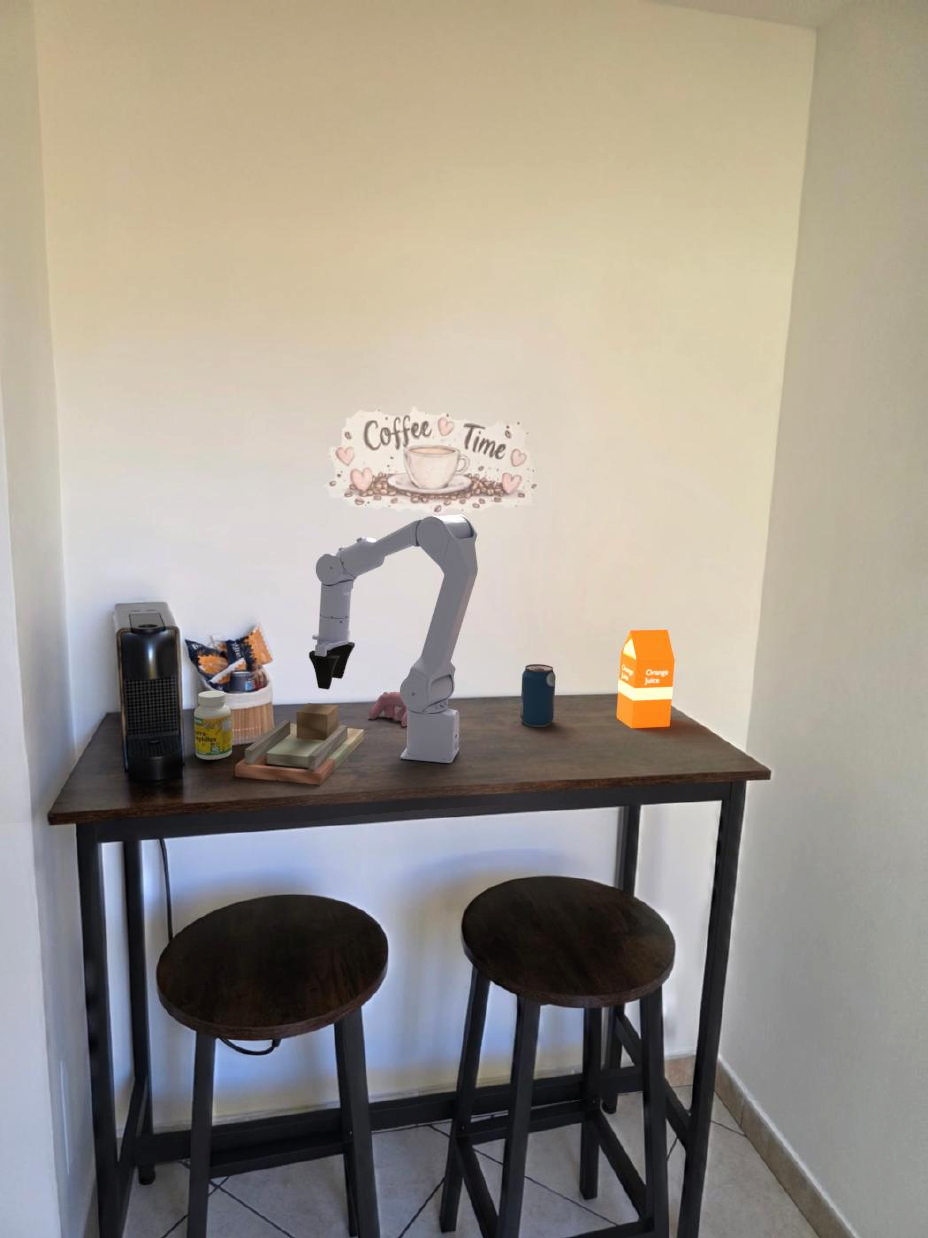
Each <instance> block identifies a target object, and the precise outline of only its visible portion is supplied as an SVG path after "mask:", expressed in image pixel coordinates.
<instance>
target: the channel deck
mask: <svg viewBox="0 0 928 1238" xmlns="http://www.w3.org/2000/svg"><path fill="white" fill-rule="evenodd" d="M364 740H365V729H361V728H360V729H359V728H352V727H351V728H348V725H343V724H341V725H340V726H338V729H337V730H336V731H335V732H334V733H332V734H331V735H330V736H329V737H328V738H327V739H326V740H315V739H304V738H297V724H296V723H292V722H291V720H283V721H281V722H280V723H278V724H277V725H276V726H275V727H273V728H272V729H271V730H269V731H268V732H267V733H265V734H264V735H263V736H261V737H260V738H259V739H257V740H256V741H255V742H253V743H252V744H250V745H249V746H248V747H247V748H245V749H244V758H243V759H241V760H240V761H239V762H238V763H236V764H235V765H234V766H235V768H234V769H235V771H234V772H235V777H237V778H247V779H258V780H267V781H276V780H278V782H286V781H287V783H298V784H305V783H306V784H305V785H307V784H308V785H315V784H316V785H317V786H321V785H322V784H323V783H324V782H325V781H326V780H327V779H328V778H329V777H330V776H331V775H332V774H331V773H334V771H335V770H337V768H338V767H339V766H340V765H341V764H343V762H344V761H345V760H346V759H347V758H348V757H349V756H350V755H351V754H352V753H353V752H354V751H355V749H357V747H358V746H359V745H360V744H361V743H362V742H363V741H364ZM268 765H269V766H268ZM270 765H278V766H270ZM281 766H286V767H281ZM287 766H288V767H287ZM292 767H297V768H292ZM298 767H299V768H298ZM301 768H303V769H301ZM304 768H307V769H304ZM288 781H289V782H288Z"/></svg>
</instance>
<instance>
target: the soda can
mask: <svg viewBox="0 0 928 1238" xmlns="http://www.w3.org/2000/svg"><path fill="white" fill-rule="evenodd" d="M524 667H525V669H524V671H523V672H522V674H521V691H520V692H521V694H520V714H519V715H520V719H521V721H522V723H523V724H524V725H526V726H527V727H533V728H542V727H548V726H550V725H551V723H552V721H553V720H554V715H555V713H554V712H555V693H556V674H555V672H554V668H553V666H551V665H547V664H541V663H539V664H538V663H535V664H527V665H525V666H524Z"/></svg>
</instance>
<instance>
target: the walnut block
mask: <svg viewBox="0 0 928 1238" xmlns="http://www.w3.org/2000/svg"><path fill="white" fill-rule="evenodd" d="M295 719H296V723H295V724H297V738H304V739H315V740H326V739H327V738H328V737H329V736H330V735H331V734H332V733H334V732H335V731H336V730H337V729H338V727H339V705H337V704H335V705H334V704H326V703H325V704H322V703H310V702H307V704H305V705H303V707H301V708H300V709H298V710H297V711H296V718H295Z"/></svg>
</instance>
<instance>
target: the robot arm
mask: <svg viewBox="0 0 928 1238" xmlns="http://www.w3.org/2000/svg"><path fill="white" fill-rule="evenodd" d="M477 537H478V533H477V531H476V529H475V527H474V526H473V524H472V522H471V521H470V519H469V518H468V517H466V516H465V515H463V514H452V515H443V516H442V515H439V516H436V515H429V516H426V517H424V518H422V519H416V520H414V521H412V522H410V523H407V524H406V525H404V526H401V528H398V529H396V530H394V531H393V532H391V533H389V534H387V535H386V536H385V535H384V537H381V538H380V539H378V540H377V539H376V538H374V537H373V538H372V537H366V536H361V537H358V538H356V543H353V544H352V545H349V546H347V547H346V546H341V547H339V548H338V551H337V552H336V553H324V554H323V555H321V556H320V557H319V558H318V560H317V562H316V563H315V573H316V577H317V578H318V580H319V581H320V583H321V584H320V585H321V586H320V598H319V600H320V601H319V602H320V604H319V620H318V633H315V634H313V635H312V637H311V638H312V640H315V641H316V645H314V646H315V647H314V649H313V650H311V651H310V652H308V658H309V660H310V662H311V664H312V667H313V670H314V673H315V678H316V684H317V687H318V689H322V690H330V688H331V685H332V681H333V679H339V680H340V679H342V678H343V677H344V674H345V672H346V666H347V663H348V661H349V658H350V655H351V653H352V651H353V650H354V648H355V646H356V643H355V642H354V641H350V636H351V634H350V632H351V631H350V617H351V616H350V613H351V598H352V590H353V589H354V582H355V581H356V579H358V577H360V576H361V575H364V574H366V573H368V572H370V571H373V570H376V569H377V568H380V567H382V565H383V564H384V562H385V557H388V556H390V555H393V554H395V553H398V552H400V551H403V550H406V549H408V548H411V547H415V548H419V547H420V548H421V549H422V550H423V551H424V553H426V554H427V556H429V557H430V559H432V561H434V562H435V564H437V565H438V567H439V568H440V569H441V571H442V573H443V579H442V583H441V584H440V585H441V586H440V588H439V592H438V596H437V600H436V602H435V607H434V610H433V613H432V616H431V620H430V623H429V627H428V631H427V634H426V638H425V640H424V645H423V648H422V651H421V655H420V656H419V657H418V659H417V660H416V661H415V662H414V663H413V665H412V666H411V667H410V669H409V673H408V675H407V676H406V678H404V679H403V681H402V682H401V684H400V687H399V692H400V697H401V700H402V702H403V703H404V705H405V706H406V710H407V726H406V748H405V749H404V750H403V751H402V753H401V754H400V757H399V758H400V759H402V760H412V761H422V762H435V763H446V764H452V763H453V761H454V759H455V757H457V754H458V753H459V751H460V747H459V745H460V743H459V742H460V740H459V739H460V712H459V710H457V709H451V708H449V707H448V704H449V699H450V698H451V697H452V696H453V694H454V692H455V686H456V685H455V677H454V676H455V672H456V667H455V665H454V664H453V663H452V662H451V661H452V659H453V655H454V652H455V649H456V645H457V643H458V638H459V636H460V632H461V628H462V626H463V622H464V618H465V615H466V612H467V609H468V605H469V603H470V602H469V601H470V599H471V596H472V591H473V589H474V585H475V583H476V582H475V581H476V580H477V576H478V569H479V567H478V560H477V552H476V550H477V549H476V541H477Z"/></svg>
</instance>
